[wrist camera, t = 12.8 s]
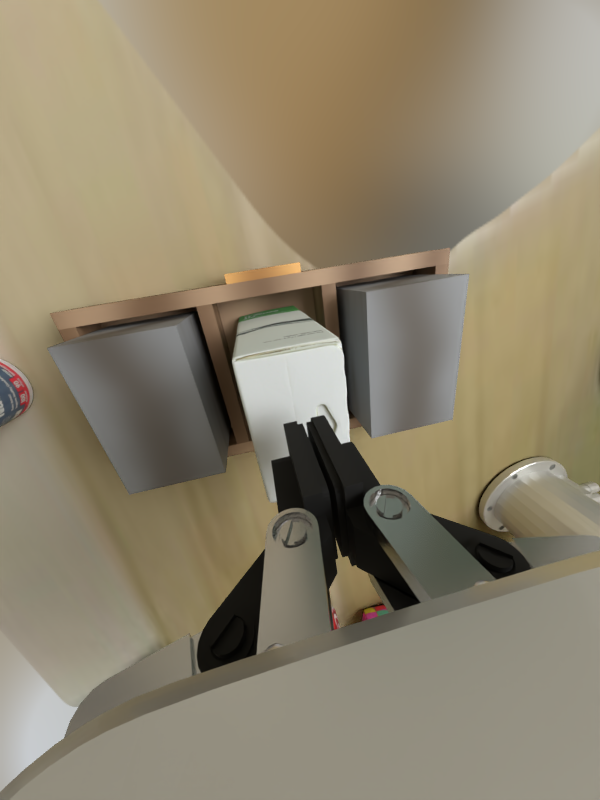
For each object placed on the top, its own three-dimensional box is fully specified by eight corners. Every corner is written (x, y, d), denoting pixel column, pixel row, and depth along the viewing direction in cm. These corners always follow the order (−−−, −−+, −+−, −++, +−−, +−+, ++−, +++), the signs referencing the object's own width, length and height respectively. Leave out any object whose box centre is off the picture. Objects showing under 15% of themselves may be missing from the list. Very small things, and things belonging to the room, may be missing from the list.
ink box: (235, 315, 21) (225, 353, 11) (297, 304, 22) (346, 330, 11) (259, 412, 25) (268, 512, 14) (311, 401, 25) (357, 490, 15)
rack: (418, 244, 22) (498, 228, 15) (412, 392, 28) (468, 431, 21) (80, 298, 20) (-14, 310, 13) (151, 449, 26) (115, 516, 19)
